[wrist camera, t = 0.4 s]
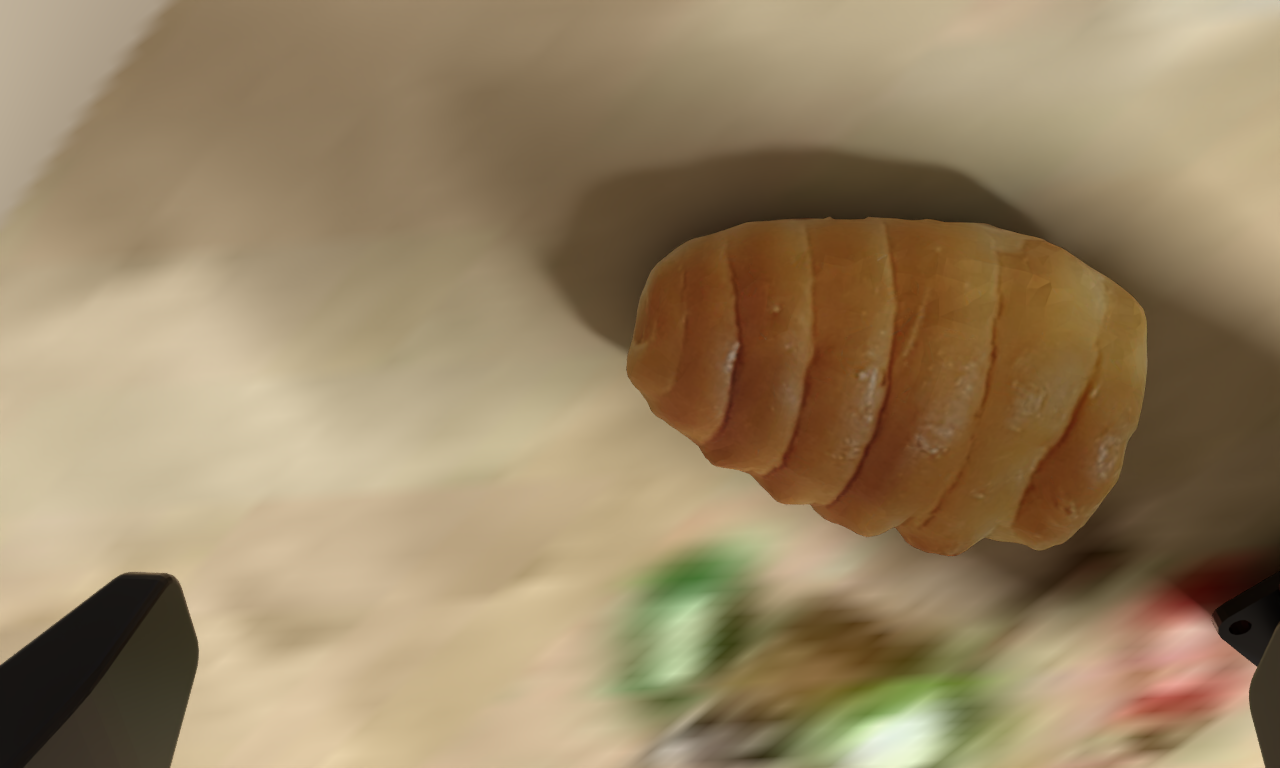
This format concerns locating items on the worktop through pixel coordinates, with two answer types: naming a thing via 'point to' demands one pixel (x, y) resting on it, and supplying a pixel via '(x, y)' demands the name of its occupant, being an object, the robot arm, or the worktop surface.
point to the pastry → (899, 373)
